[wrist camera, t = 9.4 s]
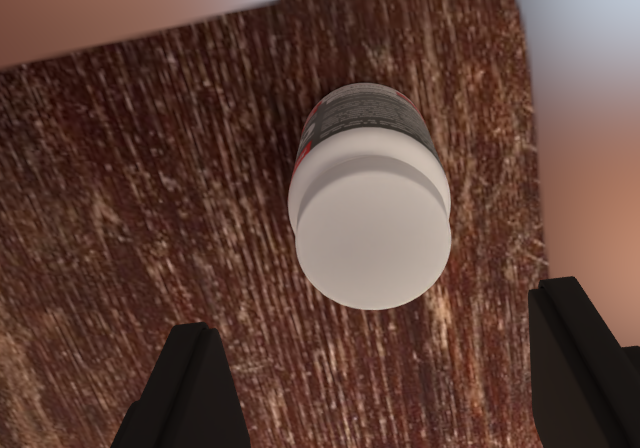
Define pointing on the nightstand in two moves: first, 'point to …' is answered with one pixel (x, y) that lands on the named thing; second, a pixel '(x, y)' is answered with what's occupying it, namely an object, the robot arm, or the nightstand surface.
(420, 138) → the pill bottle
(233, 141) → the nightstand surface
